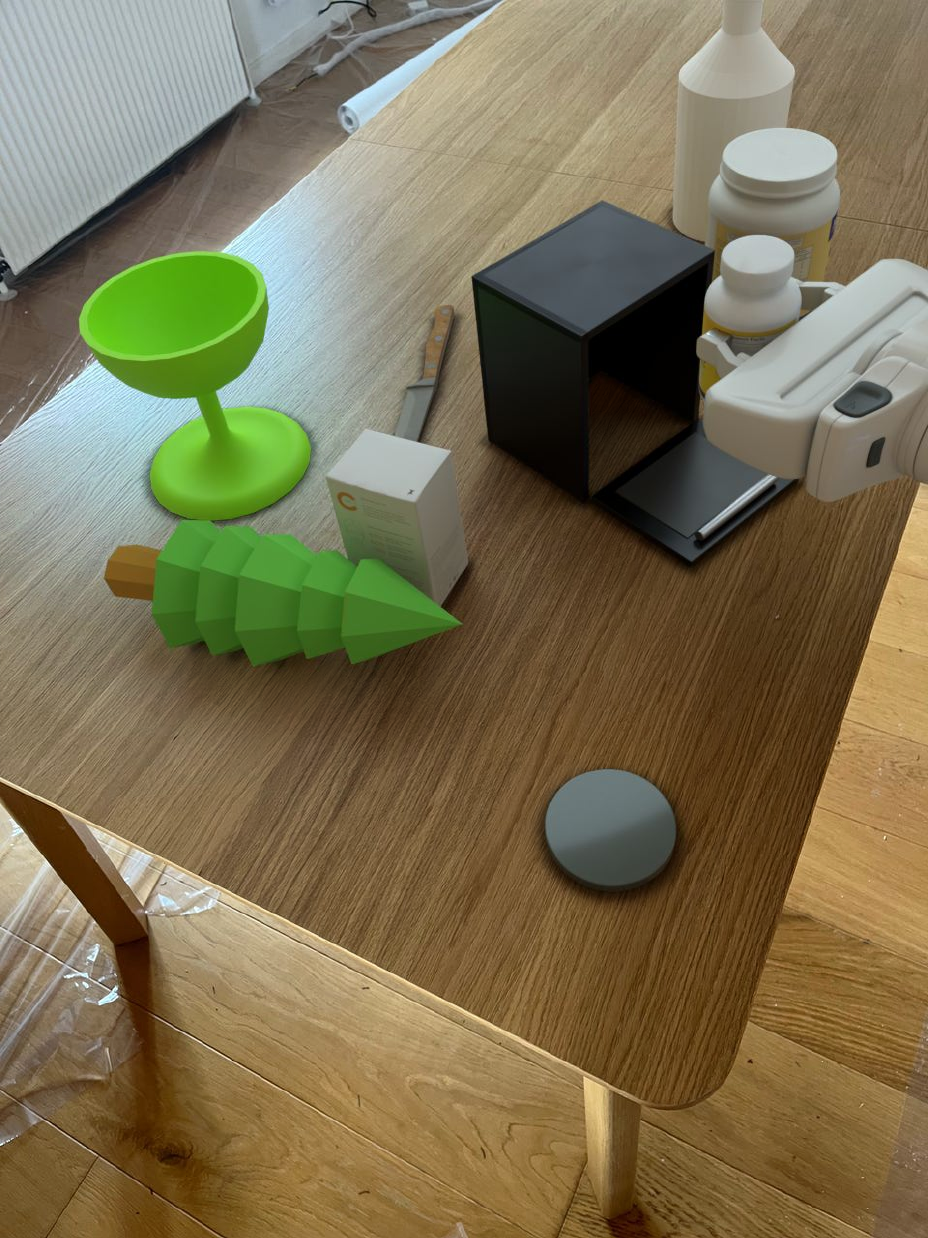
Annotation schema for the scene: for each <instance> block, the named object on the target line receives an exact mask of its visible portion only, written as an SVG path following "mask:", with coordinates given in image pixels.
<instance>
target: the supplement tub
mask: <svg viewBox="0 0 928 1238" xmlns="http://www.w3.org/2000/svg"><path fill="white" fill-rule="evenodd" d="M837 161H838V150H837V147H836V146H835V145H834V144H833V142H831V140H829V139H828V138H826V137H824V136H822V135H821V134H818V133H816V132H812V131H809V130H806V129H800V128H793V127H792V128H791V127H786V128H771V129H762V130H757V131H753V132H750V133H747V134H744V135H742V136H739V137H737V138H736V139H734V140H733V141H731V142H730V143H729V144H728V145H727V146H726V148H725V149H724V152H723V157H722V163H721V166H720V174H719V175H718V177H717V178H716V179H715V181H714V182H713V184H712V186H711V189H710V193H709V197H708V213H707V225H706V236H705V242H704V245H705V246H707V247H709V248H711V249H714V250H715V257H714V267H713V277H712V282H713V281H714V280H715V279H716V278H718V277H719V276H720V275H721V272H720V266H721V256H722V252H723V250H724V248H725V247H726V246H727V245H728V244H729V243H730V242H732V241H734V240H736V239H738V238H741V237H745V236H750V235H767V236H772V237H776V238H779V239H781V240H783V241H785V242H786V243H788V244H789V245H790V246H791V247H792V249H793V251H794V265H793V272H792V275H791V277H793V278H795V279H798V280H800V281H802V282H826V276H827V270H828V265H829V260H830V254H831V249H832V244H833V239H834V233H835V229H836V228H835V227H836V222H837V217H838V213H839V207H840V205H841V204H840V203H841V190H840V189H841V188H840V185H839V183H838V180H837V179H836V175H837V170H838V168H837V163H838V162H837ZM811 312H812V311H808V310H802V309H800V315H799V321H800V320H801V319H803V318H804V317H805V316H807V315H808V314H809V313H811ZM799 321H798V322H799Z"/></svg>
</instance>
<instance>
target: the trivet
mask: <svg viewBox="0 0 928 1238" xmlns="http://www.w3.org/2000/svg"><path fill="white" fill-rule="evenodd" d="M544 836H545V843H546V846H547V850H548V852H549V855H550V856H551V858H552V860H553V862H554V863H555V865H556V866H557V867H558V869H560V870H561V872H563V874H565V875H566V876H567V877H568V878H569V879H571V880H572V881H574V882H575V883H577V884H579V885H581V886H583V887H586V888H588V889H591V890H595V891H599V892H607V893H617V892H626V891H631V890H634V889H637V888H639V887H642V886H644V885H646V884H647V883H649V882H651V881H652V880H654V879H655V878H656V877H658V876H659V875H660V874H661V872H662V871H663V870H664V869H665V868H666V866H667V865H668V863H669V861H670V860H671V858H672V855H673V853H674V851H675V850H674V849H675V845H676V838H677V820H676V817H675V813H674V811H673V808H672V806H671V803H670V802H669V800H668V799H667V797H666V796H665V795H664V793H663V792H662V791H661V790H660V789H659V788H658V787H657V786H655V784H653V783H652V782H651V781H649V780H647V779H646V778H645V777H642V776H641V775H638V774H637V773H633V772H632V771H631V772H630V771H627V770H623V769H618V768H617V769H616V768H599V769H593V770H589V771H586V772H583V773H580V774H578V775H576V776H574V777H572V778H571V779H569V780H568V781H567V782H566V781H565V783H564V784H563V785H561V787H559V789H558V790H557V791H556V792H555V794H554V795H553V797H552V798H551V800H550V801H549V803H548V806H547V808H546V812H545V817H544Z"/></svg>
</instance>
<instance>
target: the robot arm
mask: <svg viewBox="0 0 928 1238" xmlns="http://www.w3.org/2000/svg"><path fill="white" fill-rule="evenodd" d="M791 278H793V277H791ZM793 280H794V281H795V282H796V283H797V285H798V287H799V289H800V292H801V297H802V302H801V309H802V310H808V311H812V312H811V313H809V314H808V315H807V316H805V317H804V318H803V319H801V320H800V321H799V322H797V323H796V324H795V325H793V326H792V327H791V328H789V329H788V330H787V331H785V332H784V333H783V334H781V335H780V336H779V337H777V338H776V339H775V340H773V341H772V342H771V343H769V344H768V345H767V346H765V347H764V348H763V349H761V350H760V351H758V352H757V353H756V354H754V355H753V356H752V357H751V356H749V355H747V354H745V353H739V354H738V355H737V357H736V356H735V355H734V354H733V352H732V351H731V350H730V348H729V347H730V344H731V337H732V335H730V334H728V333H726V332H720V331H719V329H717V328H712V329H711V330H709V331H708V332H706V333H705V334H703V335H702V336H700V337H699V338H698V339H697V347H696V353H697V356H698V357H699V358H700V359H701V360H703V361H705V362H707V363H709V364H711V365H713V366H715V369H716V371H717V373H718V375H719V377H720V378H721V380H720V381H718V382H717V383H716V384H714V385H713V386H711V387H710V388H709V389H708V390H707V392H706V395H705V400H704V401H703V411H702V421H703V429H704V432H705V435H706V437H707V439H708V440H709V442H710V443H712V444H713V445H714V446H716V447H717V448H719V449H720V450H722V451H724V452H725V453H727V454H729V455H731V456H732V457H734V458H736V459H738V460H740V461H742V462H744V463H746V464H748V465H750V466H752V467H754V468H756V469H758V470H760V471H762V472H764V473H767V474H769V475H772V476H775V477H778V478H782V479H799V480H800V479H803V478H806V479H805V490H806V493H808V494H809V495H810V496H811V497H813V498H815V499H816V500H819V501H821V502H823V503H824V502H825V503H832V502H836V501H840V500H842V499H844V498H846V497H848V496H851V495H853V494H857V493H858V492H861V491H864V490H865V489H868V488H871V487H874V486H876V485H880V484H884V483H887V482H889V481H895V480H897V479H899V478H901V477H903V476H904V475H905V476H908V477H909V478H912V479H913V480H915V481H917V482H919V483H921V484H924V485H927V486H928V269H927V268H924V267H922V266H920V265H918V264H916V263H914V262H911V261H909V260H906V259H903V258H882V259H880V260H878V261H877V262H876V263H875V264H873V265H872V266H871V267H869V268H868V269H866V271H864V272H863V273H862V274H860V275H859V276H857V277H856V278H855V279H853V280H852V281H850V282H849V283H848V284H847V285H844V284H840V283H839V282H836V281H825V282H802V281H800V280H798V279H795V278H793Z"/></svg>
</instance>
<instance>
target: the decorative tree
mask: <svg viewBox="0 0 928 1238" xmlns="http://www.w3.org/2000/svg"><path fill="white" fill-rule="evenodd" d="M103 579H104V581H105V582H106V584H107V586H108V587H109V589H110V591H111V592H112V594H113V595H114V597H116V598H124V599H133V600H142V601H151V602H152V607H151V616H152V618H153V620H154V623H156V625H157V628H158V629H159V631H160V633H161V634H162V637H163V639H164V640H165V642H166V644H167V646H168V648H169V649H175V648H179V647H185V646H190V645H194V644H200V643H203V642H205V644H206V646H207V648H208V650H209V652H210V654H211V657H214V656H218V655H224V654H227V653H232V652H236V651H240V650H242V649H243V650H244V652H245V653H246V656H247V658H248V660H249V662H250V663H251V665H252V667H257V666H260V665H266V664H269V663H270V664H271V663H276V662H279V661H283V660H285V659H289V658H290V657H294V656H296V655H298V654H301V653H303V652H304V655H305V657H306V659H307V660H309V659H312V658H317V657H319V656H322V655H327V654H329V653H332V652H335V651H338V650H341V649H344V648H345V651H346V654H347V656H348V658H349V661H350V664H351V665H354V664H358V663H362V662H365V661H370V660H371V659H375V658H378V657H380V656H384V655H385V654H387V653H390V652H393V651H396V650H398V649H401V648H404V647H407V646H410V645H412V644H414V643H416V642H417V643H418V642H419V641H422V640H425V639H427V638H431V637H433V636H436V635H438V634H441V633H444V632H446V631H449V630H451V629H454V628H457V627H459V626H460V627H461V626H462V625H463V622H461V621H459V620H458V619H457V618H456V617H454V616H453V615H451V614H450V613H449V612H448V611H446V610H445V609H444V608H443V607H442V606H441V607H440V606H439V605H437V604H436V603H435V602H434V601H432V600H431V599H430V598H428V597H427V596H426V595H425V594H423V593H422V592H421V591H419V590H418V589H417V588H416V587H414V586H413V585H412V584H410V583H409V582H408V581H407V580H405V579H404V578H403V577H401V576H400V575H399V574H398V573H396V572H395V571H394V570H392V569H391V568H390V567H389V566H387V565H386V564H385V563H383V562H382V561H381V560H380V559H361V560H360V562H359V564H358V566H356V565H355V564H353V563H352V562H351V561H350V560H348V557H346V556H345V555H344V554H342V553H341V552H340V551H339V550H337V549H336V550H335V549H334V550H319V551H318V553H317V554H316V553H315V552H313V551H312V550H311V549H310V548H308V547H307V546H306V545H305V544H304V543H302V541H300V540H299V539H298V538H296V537H295V536H294V535H292V534H286V533H285V534H283V533H281V534H278V533H277V534H274V533H271V534H269V533H268V534H267V533H264V534H262V536H261V535H260V534H259V533H258V532H257V531H256V530H255V529H254V528H253V526H251V525H250V526H249V525H247V526H244V525H243V526H242V525H238V526H237V525H224V527H223V528H222V530H221V529H220V528H219V527H218V526H216V524H214V523H213V521H210V520H197V519H181V520H180V522H179V523H178V525H177V526H176V528H175V530H173V533H172V534H171V536H170V537H169V539H168V540H167V542H166V543H165V545H164V546H163V548H162V549H158V548H153V547H150V546H145V545H140V544H126V545H118V546H117V547H116V548H115V549H114V551H113V552H112V554H111V555H110V556H109V557H108V559H107V562H106V567H105V571H104V576H103Z"/></svg>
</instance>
